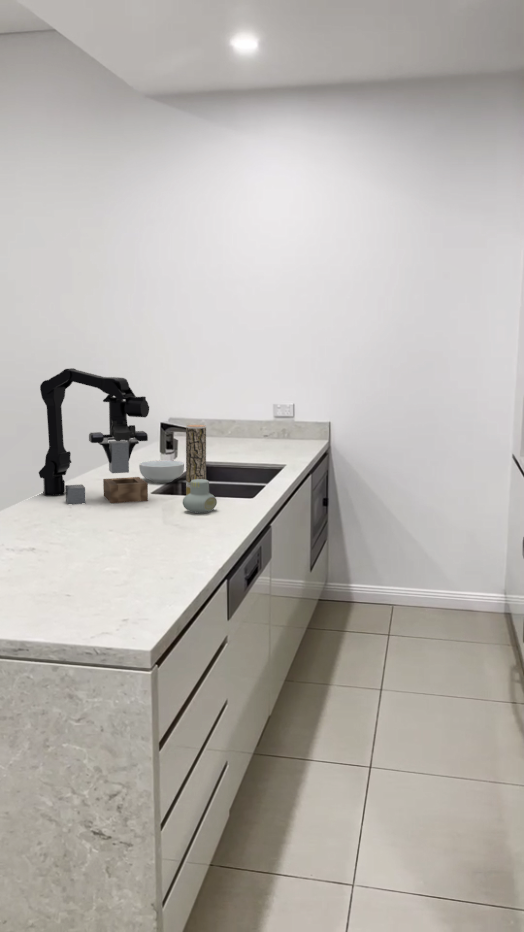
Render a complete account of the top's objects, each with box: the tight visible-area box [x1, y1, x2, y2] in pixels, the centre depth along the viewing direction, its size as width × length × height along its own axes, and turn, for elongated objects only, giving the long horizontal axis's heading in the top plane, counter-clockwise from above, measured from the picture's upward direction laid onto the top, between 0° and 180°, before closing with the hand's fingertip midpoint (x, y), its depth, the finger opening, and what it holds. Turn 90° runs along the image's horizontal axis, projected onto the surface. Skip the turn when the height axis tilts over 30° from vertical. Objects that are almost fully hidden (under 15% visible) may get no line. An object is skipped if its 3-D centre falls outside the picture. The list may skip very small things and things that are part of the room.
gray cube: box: [64, 483, 86, 505], centre depth 268 cm, size 6×6×6 cm
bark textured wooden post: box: [185, 424, 207, 496], centre depth 276 cm, size 7×7×25 cm
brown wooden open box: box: [102, 476, 149, 504], centre depth 275 cm, size 12×12×6 cm
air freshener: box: [182, 479, 218, 514], centre depth 257 cm, size 11×8×10 cm
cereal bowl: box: [138, 459, 185, 484], centre depth 307 cm, size 17×17×7 cm
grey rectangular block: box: [108, 440, 130, 474], centre depth 269 cm, size 6×6×10 cm
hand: (118, 462), depth 270 cm, fingers closed on grey rectangular block, 6 cm apart
